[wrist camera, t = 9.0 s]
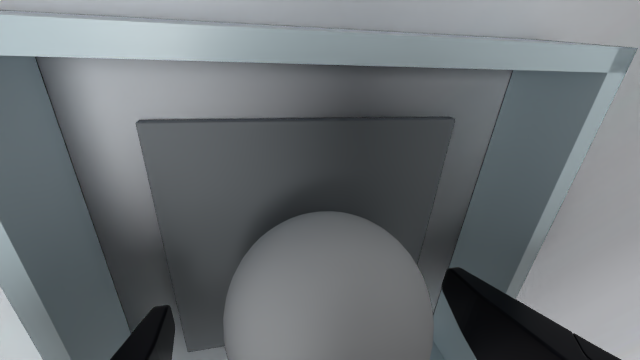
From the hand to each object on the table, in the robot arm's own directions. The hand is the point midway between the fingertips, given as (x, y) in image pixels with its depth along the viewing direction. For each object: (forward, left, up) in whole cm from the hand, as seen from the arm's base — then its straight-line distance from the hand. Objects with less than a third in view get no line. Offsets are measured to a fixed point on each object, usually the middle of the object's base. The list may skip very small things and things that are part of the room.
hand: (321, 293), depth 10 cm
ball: (0, 0, -2) cm, 2 cm away
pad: (0, 0, -3) cm, 3 cm away
